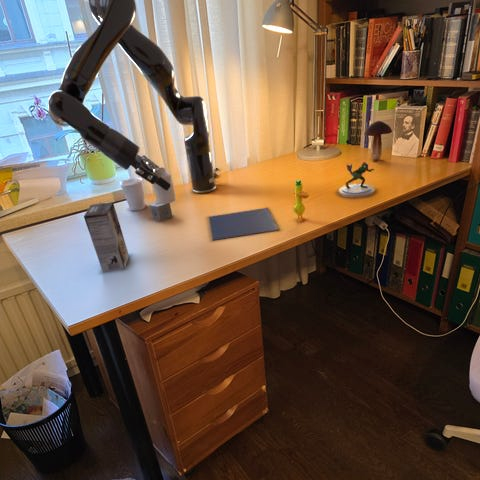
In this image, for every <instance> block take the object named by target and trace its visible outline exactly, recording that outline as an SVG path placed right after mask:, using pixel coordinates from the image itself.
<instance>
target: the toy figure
mask: <svg viewBox="0 0 480 480" xmlns="http://www.w3.org/2000/svg"><path fill="white" fill-rule="evenodd" d="M294 191H295V192H294V195H295V200H296V204H295V203H294V204H293V205H294V206H293V207H294V208H293V209H292V210H293V212H294V213H295V214H296V216H297V221H298V222H303V221H306V219H305V217H303V215H304V213H305V211H306V208H305V205H304V203H303V199H308V198H309V196H310V193H308V192H306V191H304V190H303V183H302V180H301V179H298V180H295V184H294Z"/></svg>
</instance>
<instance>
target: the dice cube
mask: <svg viewBox="0 0 480 480" xmlns="http://www.w3.org/2000/svg"><path fill="white" fill-rule="evenodd" d="M148 205H149V210H150V213H151V218H152V219H153V220H156V221H159V222H162V221H165V220H167V219H169V218H172V217H173V213H172V212H173V211H172V207H171V203H166V204H160V203H158V202H157V201H155V202H152V203H150V204H148Z"/></svg>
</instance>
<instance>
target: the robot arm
mask: <svg viewBox="0 0 480 480" xmlns="http://www.w3.org/2000/svg"><path fill="white" fill-rule="evenodd" d="M88 5H89V9H90V12H91V14H92V17H93V18H94V20H95V21H96V22H97V24H98V26H97V27H96V29H95V31H93V32H92V34H91V35H90V36H89V37H88V38H87V39H86V40H85V41H84V42H83V43H82V44H81V45H80V46H79V47H78V48H77V49H76V50H75V52H74V53H73V55H72V57H70V60H69V62H68V64H67V66H66V68H65V70H64V72H63V75H62V78H61V82H60V86H59V88H58V90H56V91H53V92H52V93H51V94H50V96H49V98H48V114H49V117H50V119H51V121H53V123H54V124H56V125H57V126H60V127H61V128H63V127H64V128H65V127H66V128H67V127H70V128H73V129H74V130H75V131H77V133H78V134H79V135H80V137H81V138H82V139H83V141H85V142H86V143H88V144H89V145H91V146H92V147H93V148H95V149H97V150H98V151H99V152H100V153H101V154H103V155H104V156H105V157H106V158H108V159H109V160H111V161H112V162H113V163H115V164H116V165H118V166H119V167H121V168H122V169H124V170H125V171H128V170H129V168H130V167H132V168H133V169H135V172H134V173H135V174H136V175H137V176H138V177H140V178H141V179H143V180H145V181H146V182H148V183H150V184H151V185H153V184H157V185H159V186H160V187H162V188H163V189H165V190H166V191H167V190H168V189H169V188H170V186H171V184H170V183H168V182H167V181H166V180H164V179H163V178H161V177H160V176H159V175H158V174H157V173H156V172H155V169H156V168H160V166H159V165H158V164H156V163H155V162H154V161H152V160H151V159H149V158H148V157H147V156H146V155H144V154H142V156H141V155H139V152H140V150H141V148H140V146H139V145H137V144H136V143H135V142H134V141H132V140H130V139H129V138H127V137H126V136H125V135H124V134H122V133H121V132H119V131H118V130H116V129H114V128H113V127H111V126H110V125H108V124H107V123H105V122H104V121H103V120H102V119H100V118H98V117H97V116H96V115H95V114H93V112H92V111H91V110H90V109H88V108H87V106H86V105H84V101H85V99H86V97H87V95H88V93H89V92H90V90H91V89H92V86H93V85H94V82H95V80H96V78H97V76H98V74H99V72H100V71H101V70H102V67H103V65H104V63H105V62H106V60H107V59H108V58H109V56H110V54H111V53H112V51H113V50H114V49H115V47H116V46H117V45H118V46H119V47H120V48H121V49H122V50H123V52H124V53H125V54H126V56H127V57H128V58H129V59H130V60H131V61H132V62H133V64H134V65H135V66H136V67H137V69H138V70H139V71H140V73H141V75H143V77H144V78H145V79H146V80H147V81H148V83H149V84H150V85H151V86H152V88H154V90H155V91H156V93H157V94H158V95H159V97H161V99H162V100H163V102H164V104H165V105H166V106H167V108H168V109H169V111H170V112H171V115H172V116H173V117H174V118H175V120H176V121H177V123H178V124H180V125H182V126H192V127H193V128H192V133H191V134H189V135H187V136H185V137H184V139H183V143H184V149H185V154H186V160H187V165H188V170H189V171H188V172H189V177H190V182H191V187H192V189H191V190H192V192H193V193H195V194H206V193H207V194H208V193H211V192H214V191H216V189H217V186H216V180H215V179H217V177H218V173H217V172H214V170H213V167H214V166H213V159H212V153H211V146H210V139H209V138H210V128H209V117H208V109H207V105H206V102H205V99H204V98H203V97H201V96H198V95H195V96H194V95H193V96H183V95H182V94H181V93H180V92H179V91H178V89H177V88H176V85H175V80H176V79H175V69H174V66H173V64H172V63H171V61H170V59H169V58H168V56H167V55H166V53H165V52H164V51H163V50H162V48H160V46H159V45H157V43H155V41H153V40H151V39H150V38H149V37H148V36H147V35H145V34H144V33H143V32H141V31H139V29H137V28H136V27H135V26H134V25H133V23H134V22H135V19H136V15H137V4H136V0H88ZM215 170H216V171H219V167H217V168H216V169H215ZM152 176H153V177H152Z"/></svg>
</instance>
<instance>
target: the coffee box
mask: <svg viewBox="0 0 480 480" xmlns="http://www.w3.org/2000/svg"><path fill="white" fill-rule="evenodd" d="M83 218H84V221H85V224H86V228H87V230H88V233H89V236H90V239H91V242H92V246H93V248H94V251H95V254H96V257H97V260H98V263H99V266H100V269H101V271H102V273H108V272H114V271H115V272H116V271H122V270H125V269H126V267H127V264H128V263H127V262H128V259H129V256H130V254H129V251H128V250H129V249H128V248H127V244H126V240H125V236H124V234H123V230H122V228H121V227H122V226H121V224H120V220H119V217H118V213H117V211H116V207H115V205H114V201H112V202H101V203H94V204H90V205H89V207H88V208H87V210H86V212H85V213H84V215H83Z"/></svg>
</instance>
